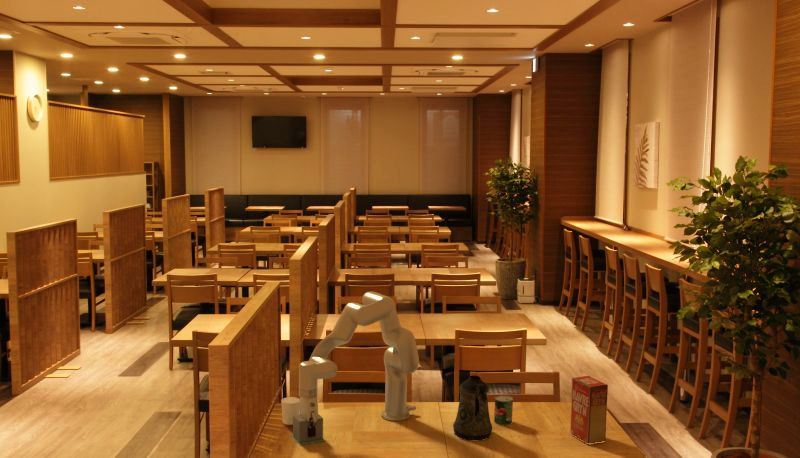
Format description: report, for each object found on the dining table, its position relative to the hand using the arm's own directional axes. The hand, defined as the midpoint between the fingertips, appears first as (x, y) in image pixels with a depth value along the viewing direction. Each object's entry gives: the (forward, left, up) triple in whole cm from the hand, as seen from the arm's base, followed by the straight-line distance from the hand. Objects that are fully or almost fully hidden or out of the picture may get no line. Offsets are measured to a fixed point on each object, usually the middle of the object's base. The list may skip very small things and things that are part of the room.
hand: (308, 432), depth 324 cm
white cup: (+1, -20, -3) cm, 20 cm away
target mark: (0, 0, -2) cm, 2 cm away
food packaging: (-106, +48, -3) cm, 117 cm away
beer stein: (-65, +25, -3) cm, 70 cm away
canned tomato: (-84, +18, -3) cm, 86 cm away
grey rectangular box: (0, 0, -2) cm, 2 cm away
